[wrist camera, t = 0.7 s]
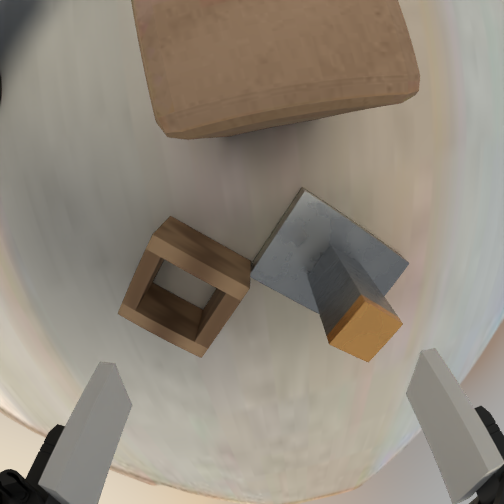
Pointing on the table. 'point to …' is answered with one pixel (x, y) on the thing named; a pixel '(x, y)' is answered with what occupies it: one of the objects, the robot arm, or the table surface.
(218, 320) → the wooden cube shelf
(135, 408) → the table surface
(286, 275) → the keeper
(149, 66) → the block
